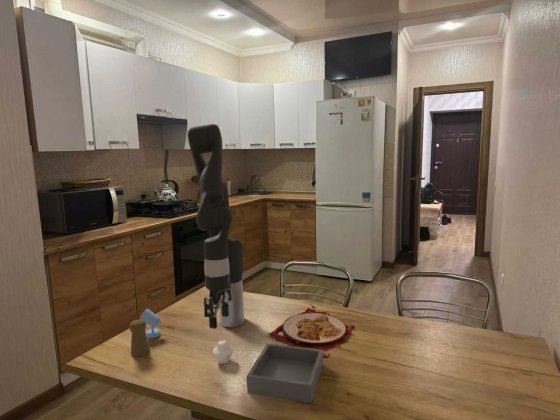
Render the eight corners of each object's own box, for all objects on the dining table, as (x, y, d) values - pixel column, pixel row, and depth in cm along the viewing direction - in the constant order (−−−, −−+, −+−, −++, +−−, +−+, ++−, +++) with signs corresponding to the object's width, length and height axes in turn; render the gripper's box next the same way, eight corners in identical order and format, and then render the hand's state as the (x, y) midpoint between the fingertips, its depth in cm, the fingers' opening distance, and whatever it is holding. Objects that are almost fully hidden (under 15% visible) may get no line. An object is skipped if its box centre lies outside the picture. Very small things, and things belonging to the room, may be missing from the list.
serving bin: (267, 357, 122) (266, 343, 121) (323, 365, 117) (322, 349, 116) (247, 392, 105) (246, 376, 104) (311, 402, 100) (311, 385, 99)
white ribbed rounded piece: (233, 365, 118) (232, 344, 117) (213, 368, 117) (212, 346, 116) (232, 355, 124) (231, 335, 123) (213, 357, 123) (212, 337, 122)
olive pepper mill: (143, 357, 125) (140, 325, 123) (127, 355, 126) (123, 324, 124) (153, 347, 130) (150, 317, 129) (137, 346, 132) (134, 316, 130)
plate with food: (266, 338, 136) (266, 329, 135) (308, 310, 156) (308, 302, 155) (325, 362, 121) (325, 351, 120) (363, 327, 141) (363, 318, 140)
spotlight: (139, 337, 138) (157, 339, 136) (137, 311, 136) (154, 313, 135) (147, 331, 142) (164, 332, 141) (144, 306, 141) (161, 307, 139)
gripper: (216, 264, 124) (218, 311, 126) (194, 278, 110) (197, 331, 113) (237, 265, 122) (239, 313, 124) (217, 280, 108) (220, 333, 111)
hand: (219, 322), depth 118 cm, fingers open, 8 cm apart
